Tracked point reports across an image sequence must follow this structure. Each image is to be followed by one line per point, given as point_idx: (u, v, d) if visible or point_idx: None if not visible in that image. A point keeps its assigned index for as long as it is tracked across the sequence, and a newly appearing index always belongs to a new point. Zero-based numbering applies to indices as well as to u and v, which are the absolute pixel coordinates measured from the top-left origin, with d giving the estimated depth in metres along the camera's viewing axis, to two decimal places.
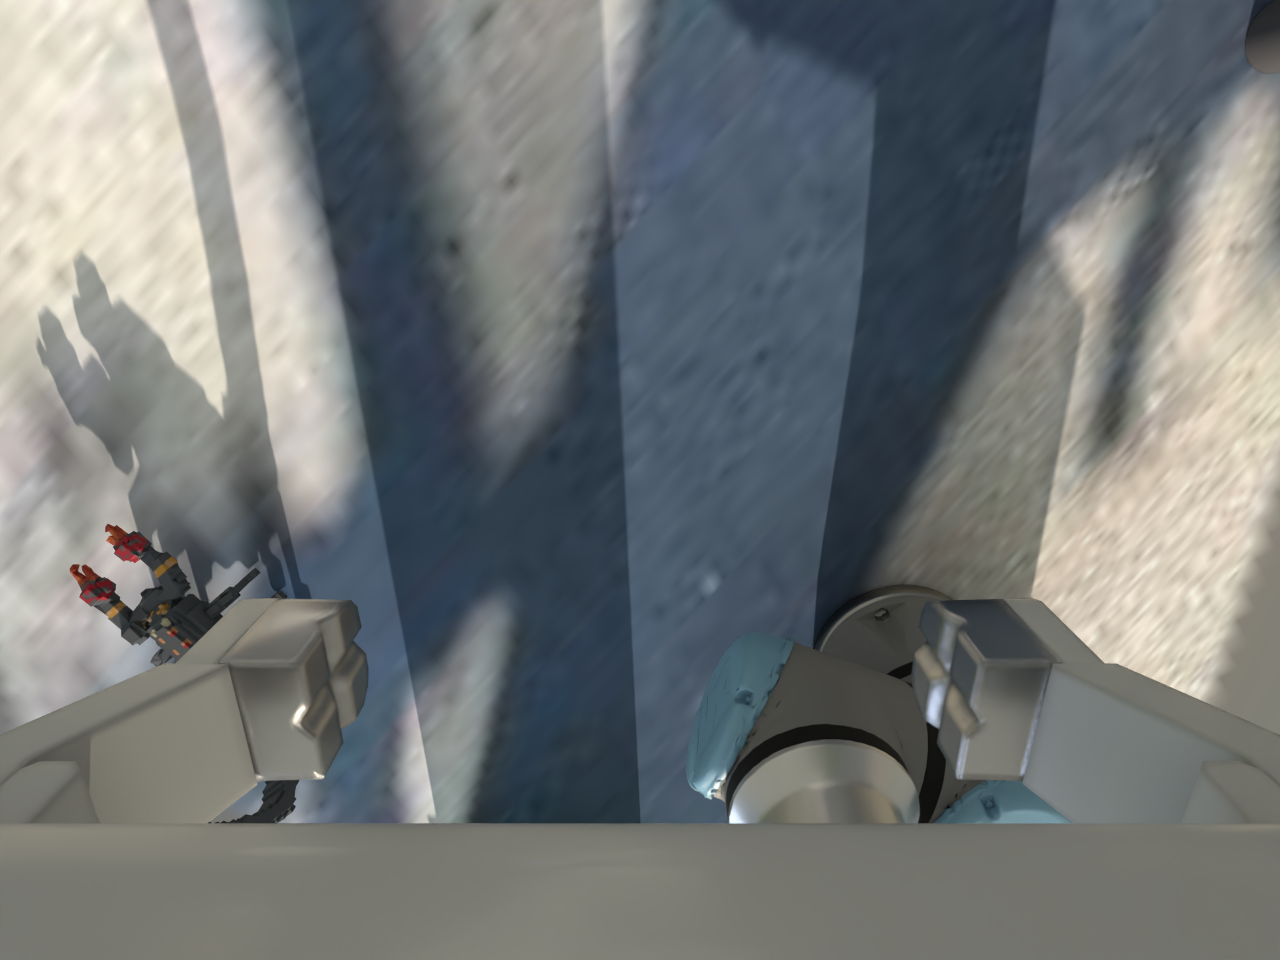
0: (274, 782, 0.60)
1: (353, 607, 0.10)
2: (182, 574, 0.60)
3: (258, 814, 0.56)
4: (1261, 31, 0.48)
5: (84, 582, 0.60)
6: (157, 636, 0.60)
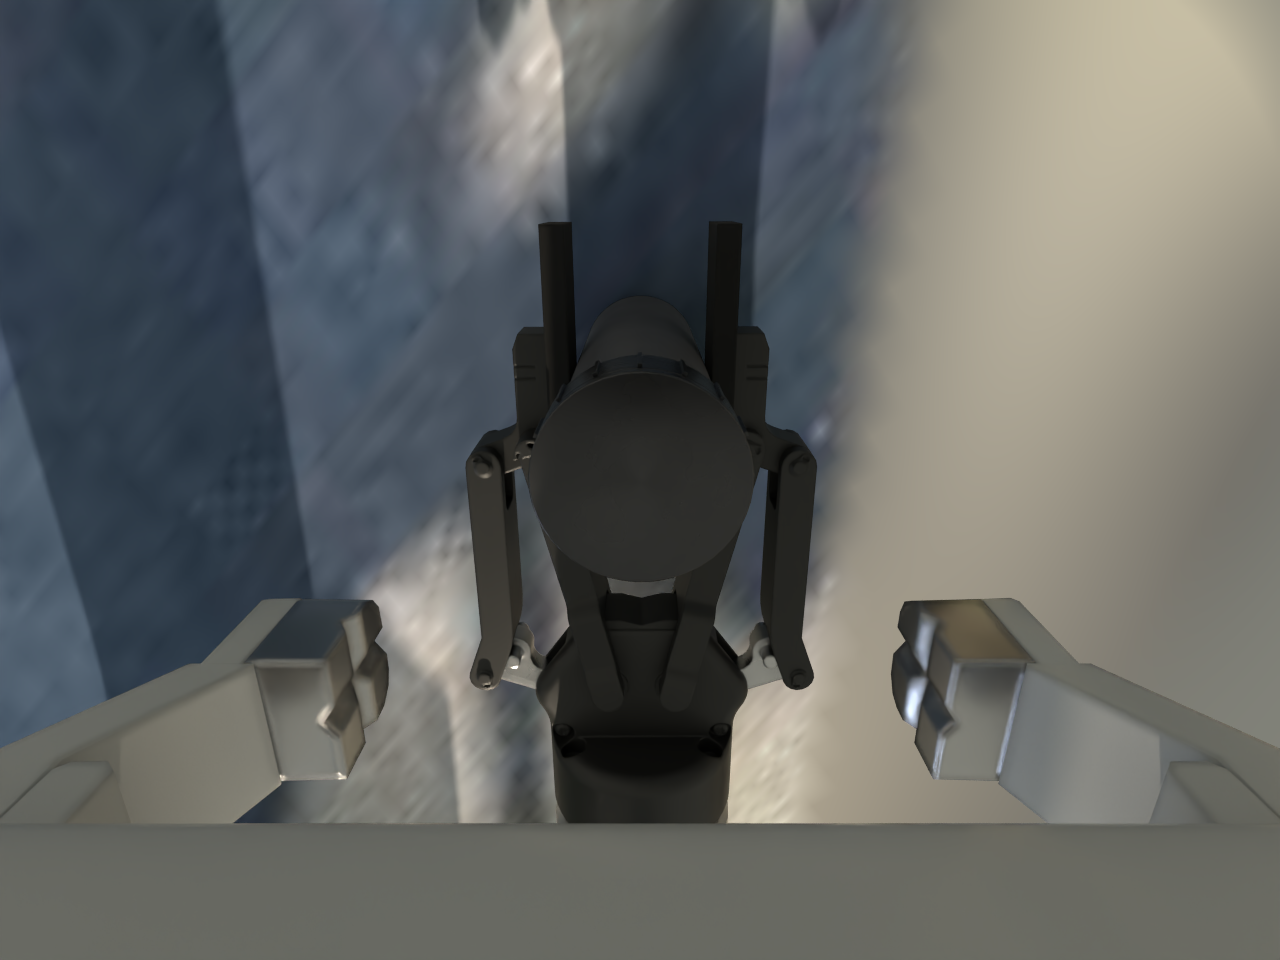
0: None
1: (375, 607, 0.10)
2: None
3: None
4: None
5: None
6: None
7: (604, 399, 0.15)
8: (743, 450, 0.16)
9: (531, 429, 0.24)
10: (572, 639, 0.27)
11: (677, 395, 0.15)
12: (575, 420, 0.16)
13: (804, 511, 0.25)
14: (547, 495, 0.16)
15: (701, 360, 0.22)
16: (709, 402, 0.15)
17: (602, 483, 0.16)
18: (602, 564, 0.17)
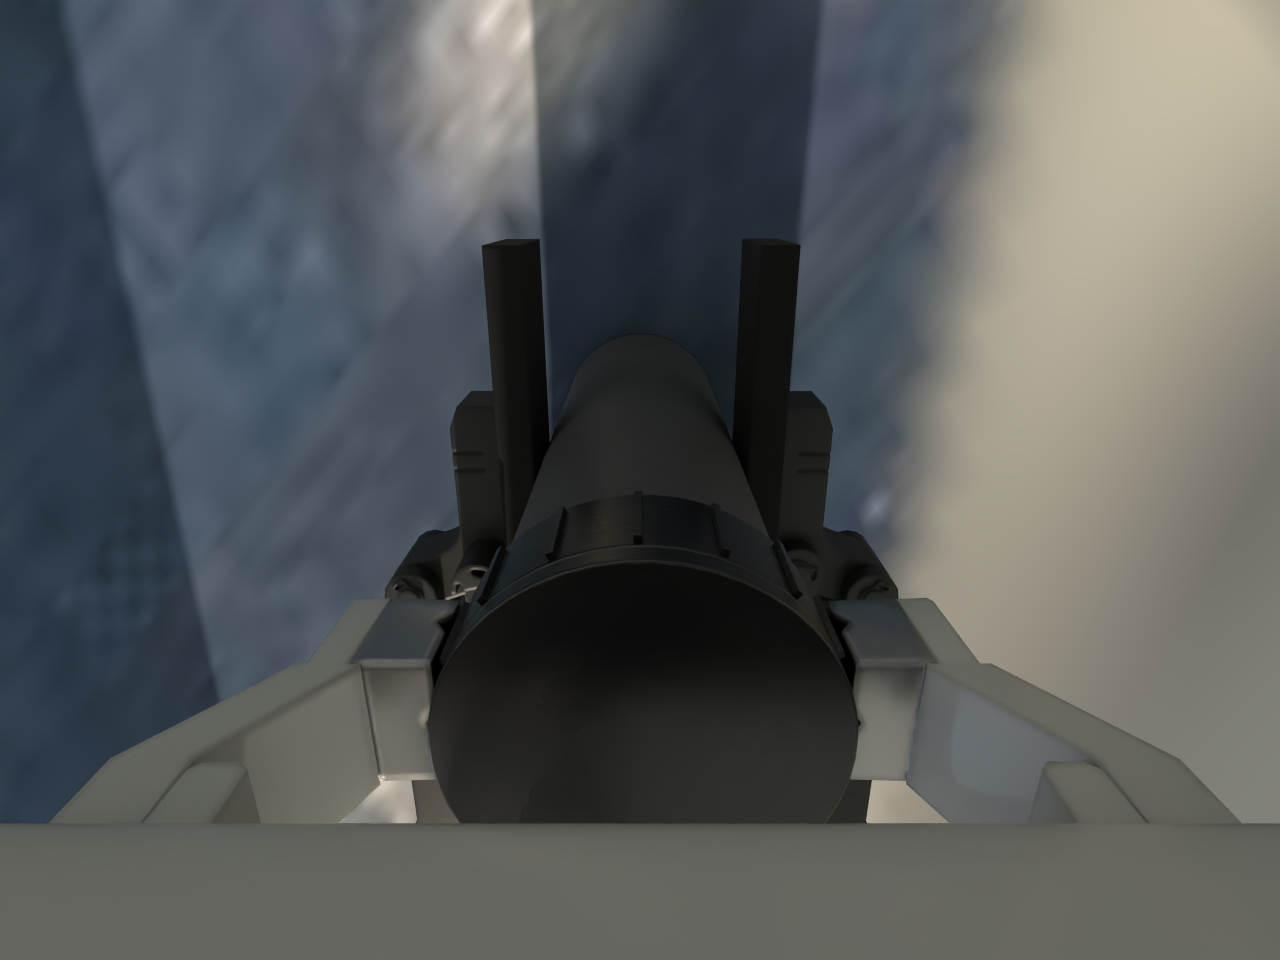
0: None
1: None
2: None
3: None
4: None
5: None
6: None
7: (568, 611, 0.08)
8: (840, 696, 0.08)
9: (480, 542, 0.17)
10: None
11: (713, 602, 0.08)
12: (512, 648, 0.08)
13: None
14: (466, 773, 0.09)
15: (733, 451, 0.15)
16: (777, 614, 0.08)
17: (569, 753, 0.08)
18: None
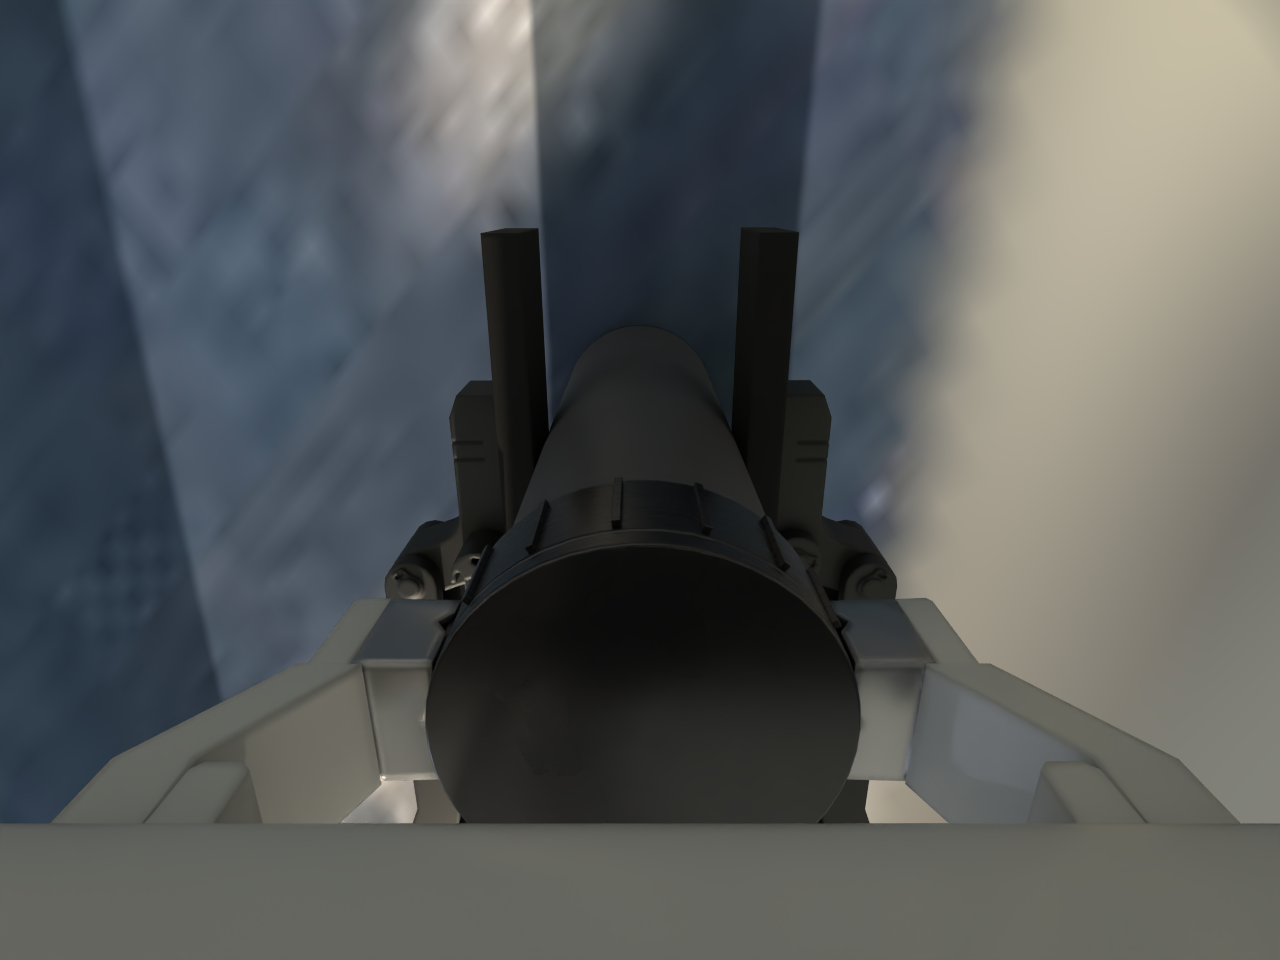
0: None
1: None
2: None
3: None
4: None
5: None
6: None
7: (466, 697, 0.08)
8: (721, 568, 0.08)
9: (480, 531, 0.17)
10: None
11: (542, 599, 0.08)
12: (469, 752, 0.08)
13: None
14: None
15: (732, 439, 0.15)
16: (592, 563, 0.07)
17: (598, 784, 0.09)
18: None
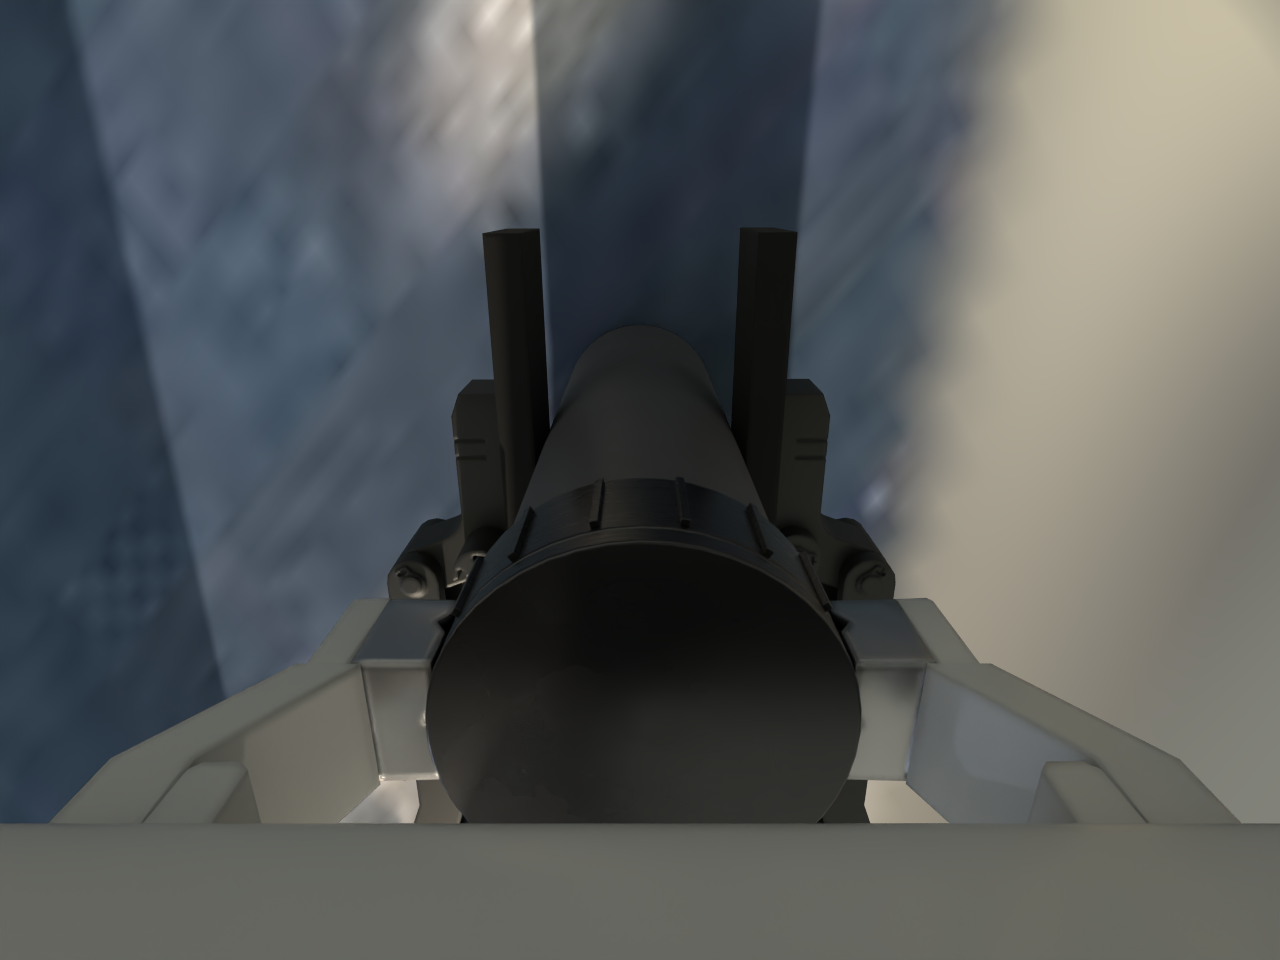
0: None
1: None
2: None
3: None
4: None
5: None
6: None
7: (501, 813, 0.09)
8: (528, 582, 0.08)
9: (482, 529, 0.17)
10: None
11: (457, 711, 0.08)
12: None
13: None
14: None
15: (731, 436, 0.15)
16: (451, 661, 0.08)
17: (658, 793, 0.09)
18: (827, 769, 0.09)
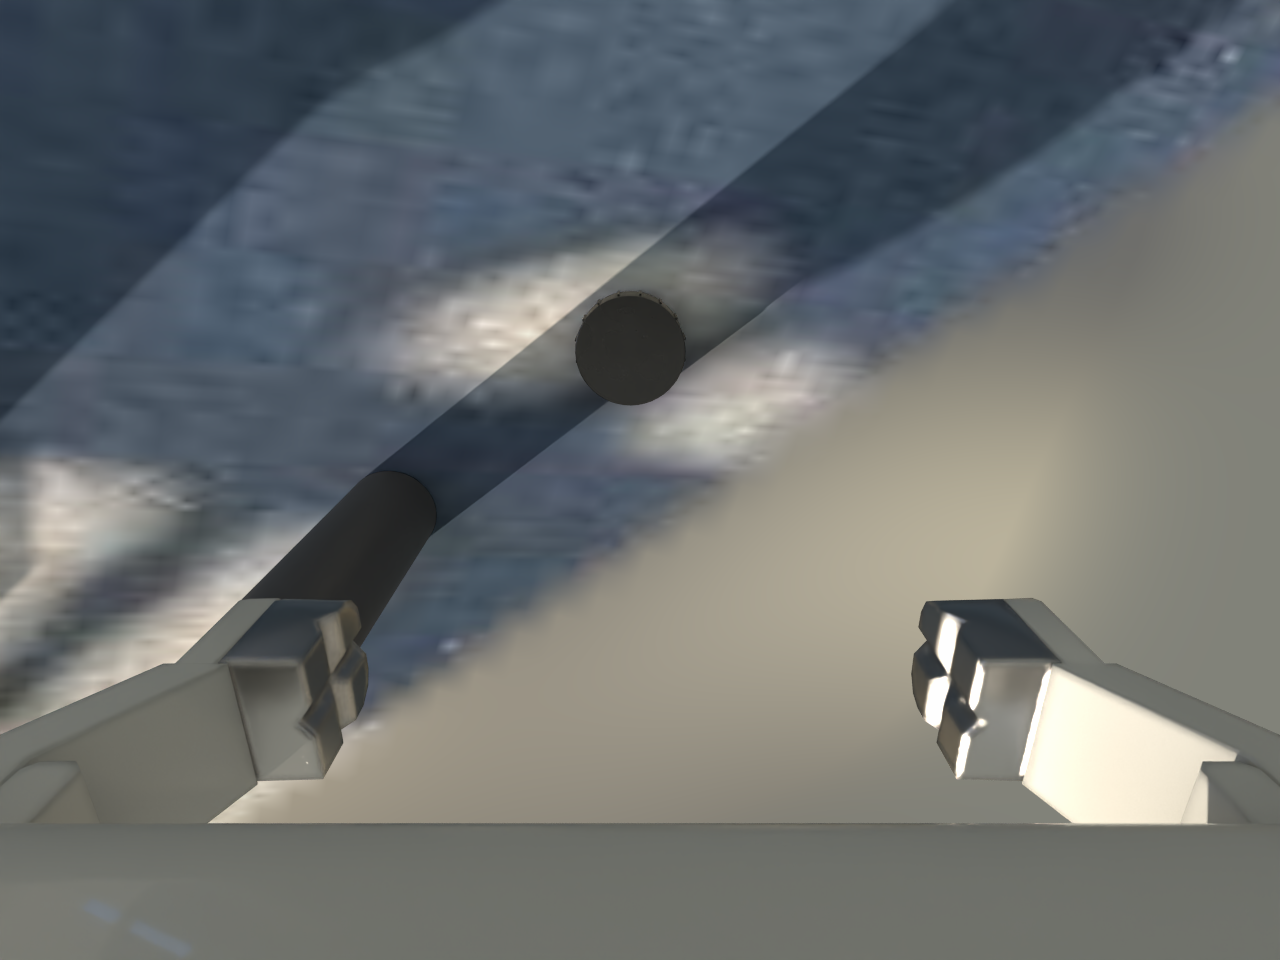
0: None
1: (353, 607, 0.10)
2: None
3: None
4: (354, 487, 0.36)
5: None
6: None
7: (593, 376, 0.33)
8: (603, 306, 0.32)
9: None
10: None
11: (583, 344, 0.33)
12: (605, 388, 0.34)
13: None
14: (645, 394, 0.34)
15: (384, 603, 0.31)
16: (583, 328, 0.33)
17: (634, 370, 0.33)
18: (677, 362, 0.33)
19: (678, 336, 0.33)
